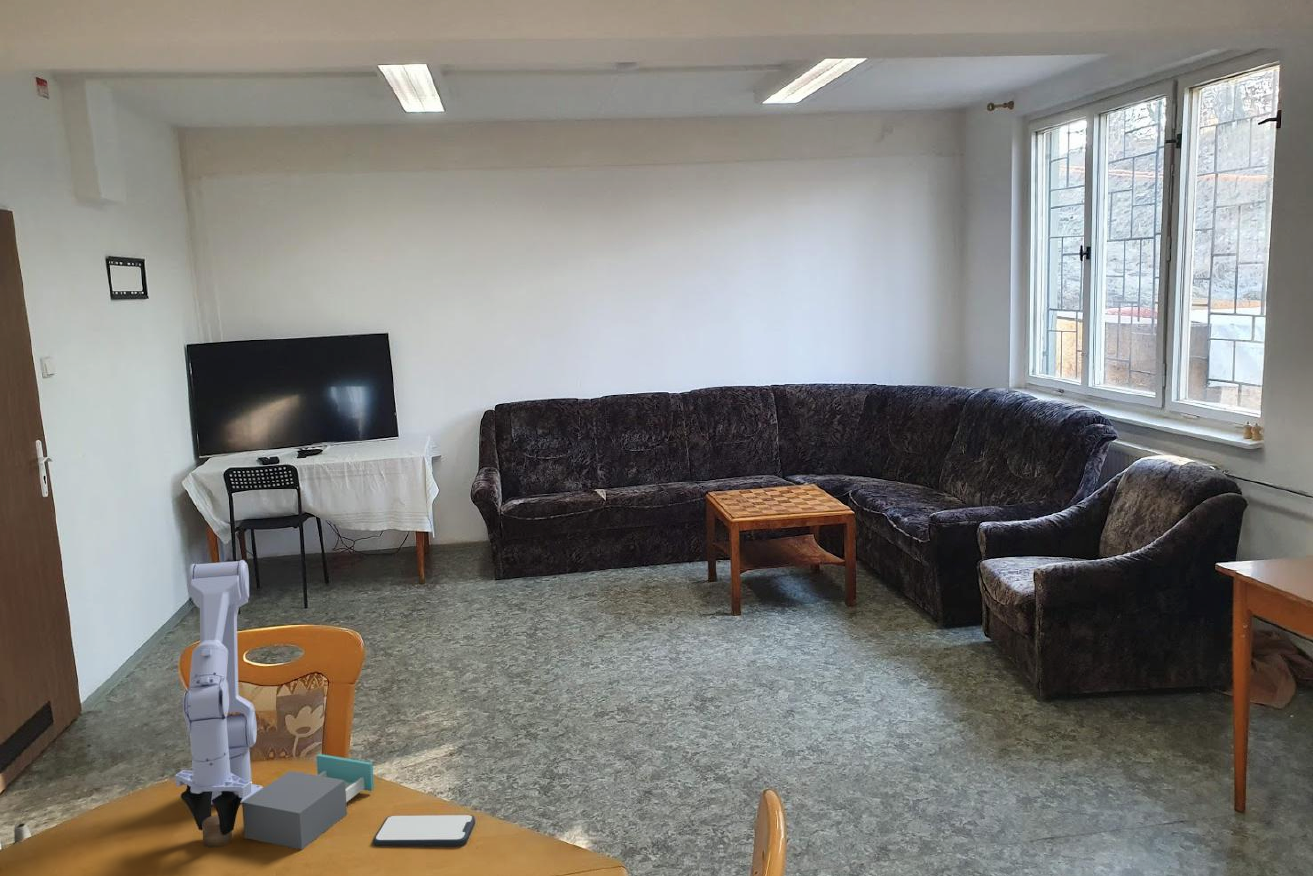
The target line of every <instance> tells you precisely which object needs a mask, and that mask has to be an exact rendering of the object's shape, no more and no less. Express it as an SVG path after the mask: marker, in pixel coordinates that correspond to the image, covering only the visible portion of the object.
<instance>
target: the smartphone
mask: <svg viewBox="0 0 1313 876" xmlns="http://www.w3.org/2000/svg"><path fill="white" fill-rule="evenodd" d="M475 826H476V817H475V816H474V815H472V814H433V815H432V814H419V815H410V814H407V815H404V814H403V815H401V814H399V815H389V816H388V817H386V818H385V819H384V821H383V822H382V823H381V826H380V827H379V828H378V830H377V832H376V833H375V835H374V836H373V838H372V843H373V845H374V846H375V847H389V848H390V847H391V848H392V847H393V848H395V847H398V848H399V847H400V848H401V847H404V848H407V847H409V848H412V847H413V848H423V847H424V848H461V847H464V846H466V845H467V843H468V841H469V839H470V837H471V835H472V832H473V830H474V827H475Z"/></svg>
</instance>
